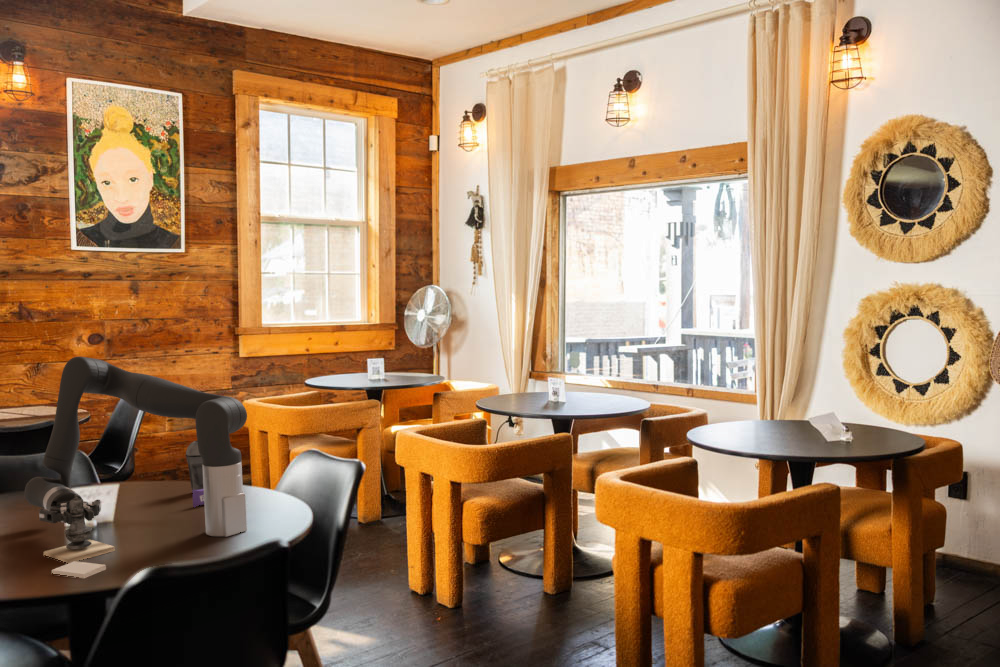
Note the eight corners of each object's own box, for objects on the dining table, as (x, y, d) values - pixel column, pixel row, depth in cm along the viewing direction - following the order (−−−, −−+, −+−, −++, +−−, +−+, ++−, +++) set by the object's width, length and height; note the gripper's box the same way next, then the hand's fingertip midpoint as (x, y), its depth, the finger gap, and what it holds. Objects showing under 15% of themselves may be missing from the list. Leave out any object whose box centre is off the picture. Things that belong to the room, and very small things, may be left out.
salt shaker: (83, 549, 197) (80, 497, 197) (59, 549, 198) (56, 497, 197) (98, 541, 203) (95, 491, 202) (74, 541, 204) (71, 491, 203)
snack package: (194, 508, 240) (193, 490, 239) (191, 507, 241) (190, 489, 241) (231, 499, 248) (231, 482, 248) (228, 498, 250) (227, 481, 249)
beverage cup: (186, 491, 260) (182, 425, 258) (211, 488, 263) (208, 423, 261) (188, 496, 253) (185, 428, 252) (214, 493, 256) (211, 426, 255)
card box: (106, 571, 189) (105, 564, 189) (84, 580, 183) (83, 574, 183) (74, 567, 192) (74, 561, 192) (52, 576, 186) (51, 570, 186)
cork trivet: (114, 550, 202) (114, 546, 202) (68, 563, 193) (67, 559, 193) (90, 543, 208) (89, 539, 208) (43, 555, 200) (43, 551, 200)
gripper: (29, 493, 207) (45, 507, 193) (93, 483, 216) (112, 496, 202) (31, 524, 207) (47, 540, 194) (94, 513, 216) (114, 527, 203)
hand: (80, 518), depth 198 cm, fingers closed on salt shaker, 3 cm apart
